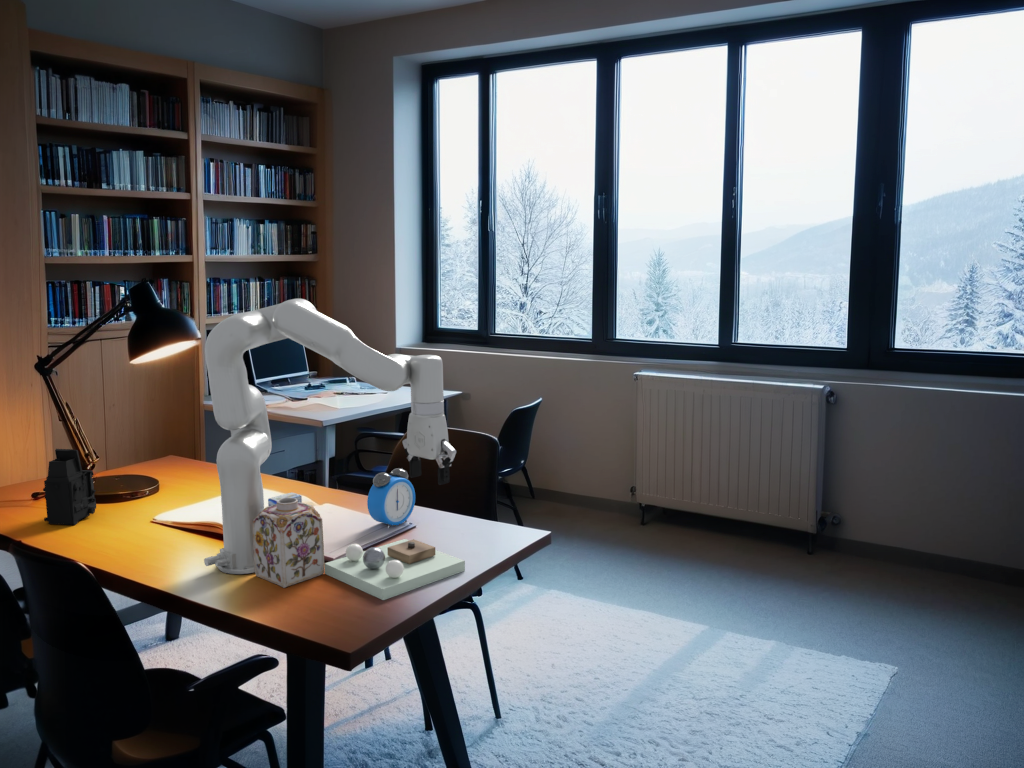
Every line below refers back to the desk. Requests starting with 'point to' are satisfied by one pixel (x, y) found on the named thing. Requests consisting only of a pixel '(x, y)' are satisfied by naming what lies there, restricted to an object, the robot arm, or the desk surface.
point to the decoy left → (354, 552)
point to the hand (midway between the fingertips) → (429, 480)
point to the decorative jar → (288, 543)
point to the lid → (411, 551)
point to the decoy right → (394, 568)
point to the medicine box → (289, 495)
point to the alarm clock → (391, 497)
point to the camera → (68, 489)
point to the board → (389, 587)
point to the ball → (373, 558)
